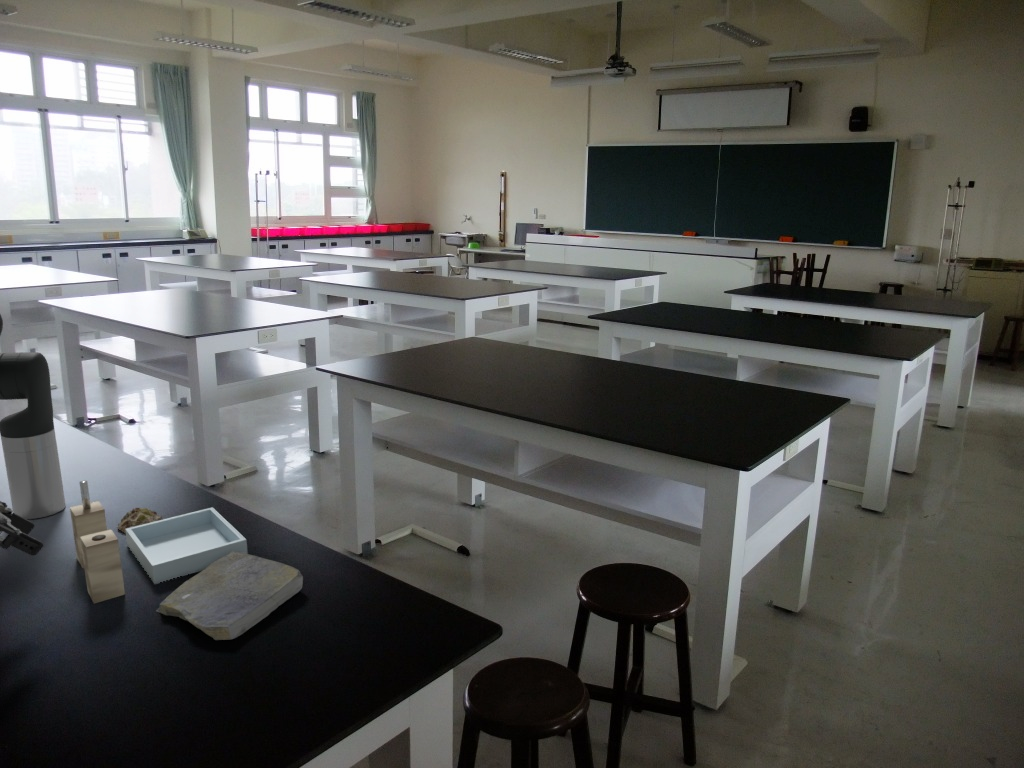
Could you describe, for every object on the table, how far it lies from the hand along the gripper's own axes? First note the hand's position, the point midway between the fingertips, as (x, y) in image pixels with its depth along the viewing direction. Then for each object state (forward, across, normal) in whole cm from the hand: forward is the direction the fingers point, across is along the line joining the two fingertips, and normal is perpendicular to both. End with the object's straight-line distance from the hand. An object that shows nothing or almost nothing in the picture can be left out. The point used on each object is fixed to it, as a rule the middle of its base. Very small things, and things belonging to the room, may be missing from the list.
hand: (34, 539), depth 117 cm
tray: (+25, +7, -8) cm, 28 cm away
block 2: (+15, 0, +3) cm, 15 cm away
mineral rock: (+23, +23, -5) cm, 33 cm away
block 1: (+15, +14, +2) cm, 21 cm away
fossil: (+26, -15, -8) cm, 31 cm away
